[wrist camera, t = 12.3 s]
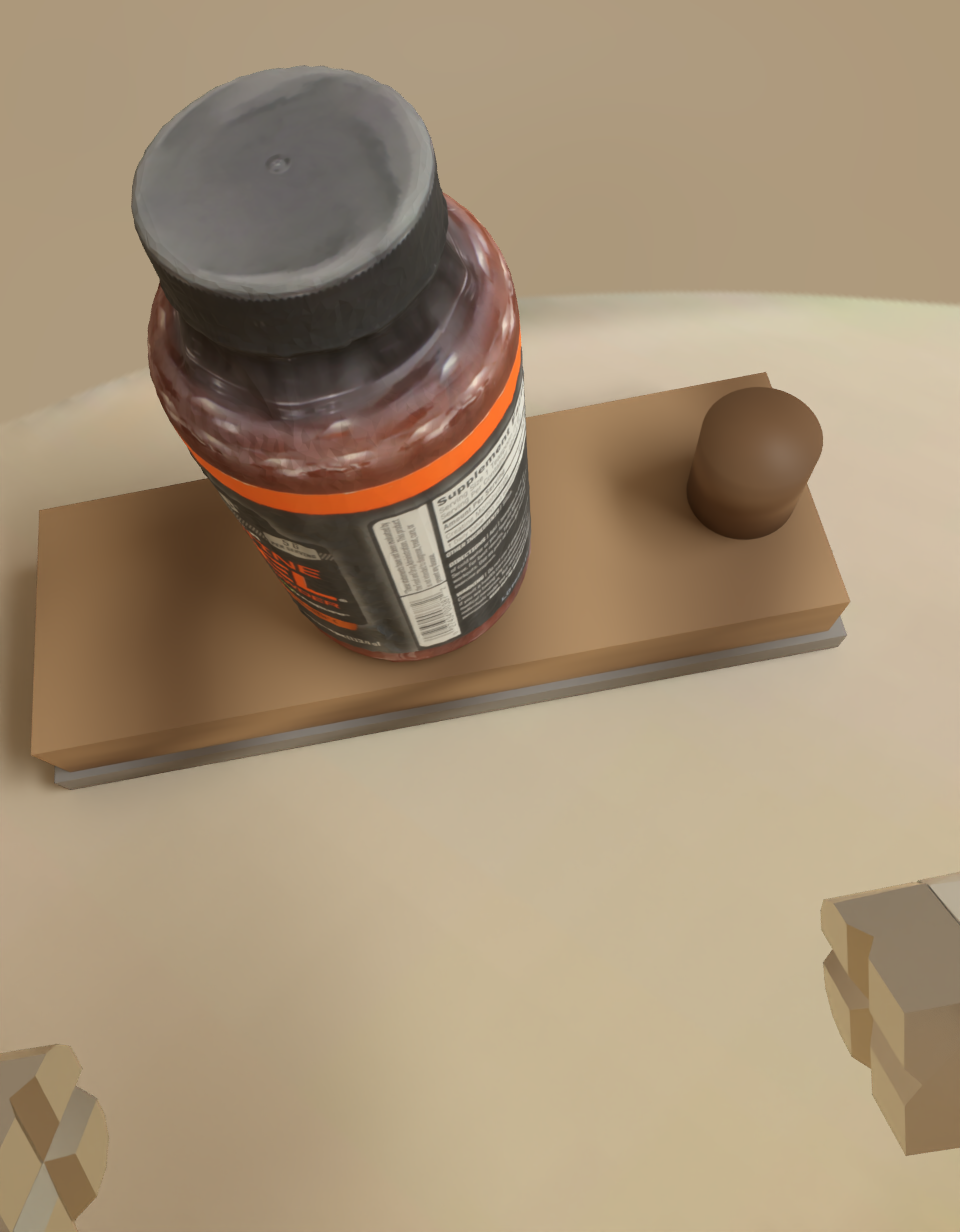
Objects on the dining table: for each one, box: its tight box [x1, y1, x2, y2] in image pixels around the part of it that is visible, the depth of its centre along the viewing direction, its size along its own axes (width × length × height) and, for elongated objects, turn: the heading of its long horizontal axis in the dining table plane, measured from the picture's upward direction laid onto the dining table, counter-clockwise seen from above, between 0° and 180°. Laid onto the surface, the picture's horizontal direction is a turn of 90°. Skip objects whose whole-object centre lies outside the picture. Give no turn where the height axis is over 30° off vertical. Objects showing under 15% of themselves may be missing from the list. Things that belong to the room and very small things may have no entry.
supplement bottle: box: [131, 65, 531, 662], centre depth 16 cm, size 6×6×11 cm
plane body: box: [31, 372, 850, 790], centre depth 22 cm, size 20×7×5 cm, turn 100°
